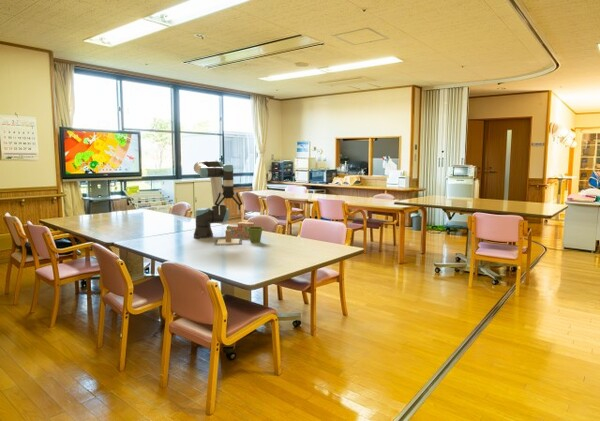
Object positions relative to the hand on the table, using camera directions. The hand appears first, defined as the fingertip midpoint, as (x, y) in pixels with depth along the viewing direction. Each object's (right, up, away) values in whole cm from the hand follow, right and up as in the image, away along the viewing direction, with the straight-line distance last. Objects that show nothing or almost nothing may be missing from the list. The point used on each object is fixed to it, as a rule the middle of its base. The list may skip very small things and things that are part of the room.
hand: (228, 214), depth 303 cm
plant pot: (+19, -21, +5) cm, 29 cm away
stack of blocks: (+5, -19, +24) cm, 31 cm away
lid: (-1, -21, +2) cm, 21 cm away
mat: (-1, -21, +2) cm, 22 cm away
